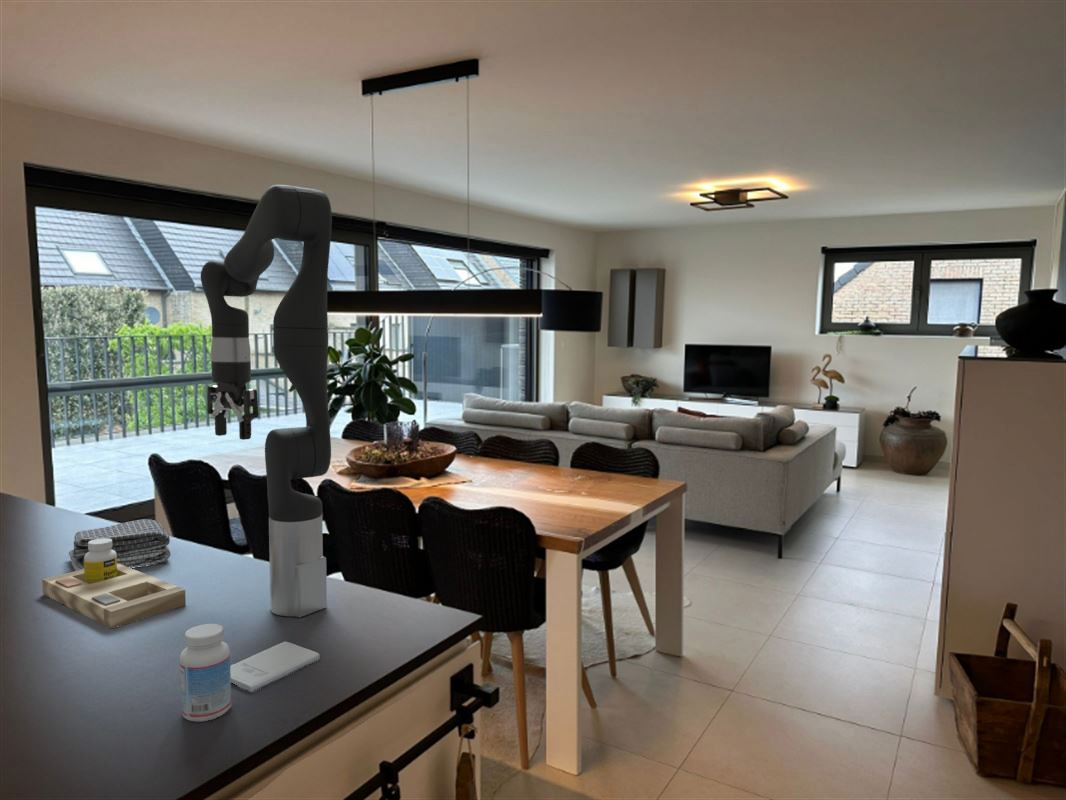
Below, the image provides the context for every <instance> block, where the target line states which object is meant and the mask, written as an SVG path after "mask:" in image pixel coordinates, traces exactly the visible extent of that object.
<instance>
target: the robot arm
mask: <svg viewBox="0 0 1066 800" xmlns="http://www.w3.org/2000/svg"><path fill="white" fill-rule="evenodd" d="M332 215H333V212H332V206H331V202H330V199H329V197H328V195H327V194H326V193H325V192H324V191H323V190H322V191H321V190H320V189H314V188H307V187H303V186H302V187H301V186H294V185H288V184H273V185H271V186H269V187H268V188H267V189H266V190H265V192H264V193H263V194H262V196H261V197H260V199H259V201H258V203H257V205H256V208H255V209H254V211H253V213H252V215H251V217H250V219H249V222H248V224H247V226H246V229H245V231H244V233H243V234H242V236H241V238H240V239H238V241H237V242H236V243H235V244H234V245H233V247H231V249H230V250H229V251H228V252H227V254H226V255H225V257H224V261H223V260H215V259H214V260H208V261H207V262H205V264H203V266H202V267H201V271H200V283H201V287H202V288H203V292H204V295H205V297H206V300H207V301H206V302H207V304H208V309H209V314H210V318H211V346H210V357H211V359H210V361H211V363H210V365H211V366H210V367H211V368H210V369H211V382H213V383H214V384H217V385H208V386H207V396H206V397H207V406H206V407H207V409H206V411H207V414H208V415H212V418H214V430H215V433H214V434H215V436H218V437H222V436H226V435H227V434H228V433H227V431H228V429H227V417H226V415H227V414H228V412H229V410H232V411H233V413H234V414H236V415H237V418H238V420H239V422H238V426H239V427H238V429H239V430H238V431H239V439H240V440H242V441H244V440H250V439H251V438H252V421H253V420H255V419H258V418H259V401H258V399H259V398H258V390H257V389H256V388H250V389H248V387H247V384H248V383H250V382H251V381H252V369H251V368H252V361H251V360H252V359H251V357H252V356H251V355H252V354H251V353H252V352H251V344H250V332H249V331H250V326H249V325H250V324H249V321H250V320H249V314H248V311H246V310H244V309H241V308H238V307H234V306H231V305H229V304H228V302H227V301H226V299H225V297H235V298H236V297H237V298H244V297H249V296H251V295H253V294H254V293H255V292H256V290H257V286H258V281H259V279H260V276H261V275H263V273H264V272H265V271H266V270H267V269H268V268H269V267H270V266H271V264H272V262H273V261H274V258H275V247H274V243H273V241H272V240H275V239H278V240H283V241H290V242H301V243H303V244H302V245H303V247H302V258H301V263H300V267H299V270H298V273H297V275H296V277H295V279H294V280H293V282H292V284H291V285H290V287H289V288H288V290H287V291H286V293H285V294H284V296H283V298H282V300H281V301H280V302H279V304H278V306H277V308H276V310H275V312H274V314H273V315H274V316H273V320H272V321H273V322H272V323H273V324H272V326H273V329H272V330H273V355H274V358H275V360H276V362H277V364H278V365H279V367H280V369H281V371H282V372H283V373H284V375H285V377H287V379H288V381H289V382H290V383H291V385H292V386H293V388H294V390H295V391H296V393H297V394H298V396H299V399H300V400H301V403H302V406H303V410H304V415H305V423H306V424H305V426H298V427H285V428H275V429H272V430H270V431H269V432H268V433H267V435H266V439H265V443H264V460H265V461H264V462H265V469H266V470H265V473H266V489H267V491H266V492H267V495H266V496H267V503H268V536H269V537H268V539H269V541H268V543H269V547H268V548H269V549H268V550H269V589H270V590H269V592H270V611H271V613H272V614H275V615H277V616H281V617H282V616H283V617H296V618H302V616H303V617H305V616H307V615H310V614H312V613H316V612H318V611H321V610H324V609H325V608H327V606H328V605H327V604H328V603H327V602H328V601H327V600H328V599H327V591H328V590H327V557H326V556H324V555H323V554H324V553H323V552H324V551H323V549H324V548H323V547H324V546H323V537H324V536H323V501H322V500H321V498H319V497H318V496H315V495H313V494H309V493H303V492H299V491H297V490H295V489H293V488H292V483H291V482H292V481H291V480H298V479H308V478H314V477H315V478H316V477H321V476H324V475H326V474H327V472H328V470H329V469H330V466H331V461H332V442H331V441H332V440H331V427H330V415H329V401H328V399H329V398H328V356H329V355H328V353H329V352H328V351H329V349H328V348H329V323H328V322H329V321H328V277H329V275H328V274H329V272H328V271H329V263H330V261H329V260H330V253H331V252H330V251H331V239H332V225H333V216H332ZM251 409H252V411H251Z"/></svg>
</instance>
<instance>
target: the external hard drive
mask: <svg viewBox="0 0 1066 800" xmlns="http://www.w3.org/2000/svg"><path fill="white" fill-rule="evenodd" d="M318 657H319V658H320V654H319V653H318V652H317V651H314V650H311V649H308V648H305V647H303V646H299V645H298V644H294V643H292V642H288V641H282V642H281V643H277V644H275V645H273V646H272V647H269V648H266V649H264V650H263V651H260V652H258V653H256V654H254V655H251V656H249V657H247V658H244V659H243V660H239V661H238V662H236V663H234V664H230V672H231V683H233V684H232V685H234V684H235V685H234V686H236V685H239V686H241V687H244V688H246V689H249V690H253V689H255V688H257V687H259V686H261V685H263V684H266V683H268V682H270V681H272V680H273V679H275V678H277V677H279V676H281V675H283V674H286V673H288V672H290V671H292V670H294V669H296V668H297V667H299V666H301V665H303V664H306V663H307V662H310V661H312V660H314V659H316V658H318Z"/></svg>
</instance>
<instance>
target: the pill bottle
mask: <svg viewBox="0 0 1066 800" xmlns="http://www.w3.org/2000/svg"><path fill="white" fill-rule="evenodd" d="M224 637H225V635H224V627H223V625H220V624H217V623H204V624H199V625H196V626H193V627H190V628H188V630H186V631H185V633H184V644H185V646H186V647H185V648H184V649H183V650H182V651H181V653H180V656H179V675H180V696H181V697H180V698H181V700H180V702H181V714H182V716H183V718H184V719H185V720H188V721H191V722H196V723H198V722H208V720H209V721H211V720H215V719H217V717H218V718H219V717H221V716H222V715H225V714H226V713H227V712H228V711H229V710H230V708H231V707H232V703H233V701H232V684H231V672H230V666H231V650H230V646H229V644H227V643H226V642H225V641H223V640H224Z"/></svg>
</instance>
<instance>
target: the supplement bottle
mask: <svg viewBox="0 0 1066 800" xmlns="http://www.w3.org/2000/svg"><path fill="white" fill-rule="evenodd" d="M111 548H112V539H109V538H101V539H95V540H91V541H89V542H88V550H90V552H88V553H87V554H86V555H85V556H84V576H85V582H86V583H88V584H92V583H96V582H99V581H103V580H107V579H111V578H115V577H117V554H116V552H115V551H114V550H112V549H111Z"/></svg>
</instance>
